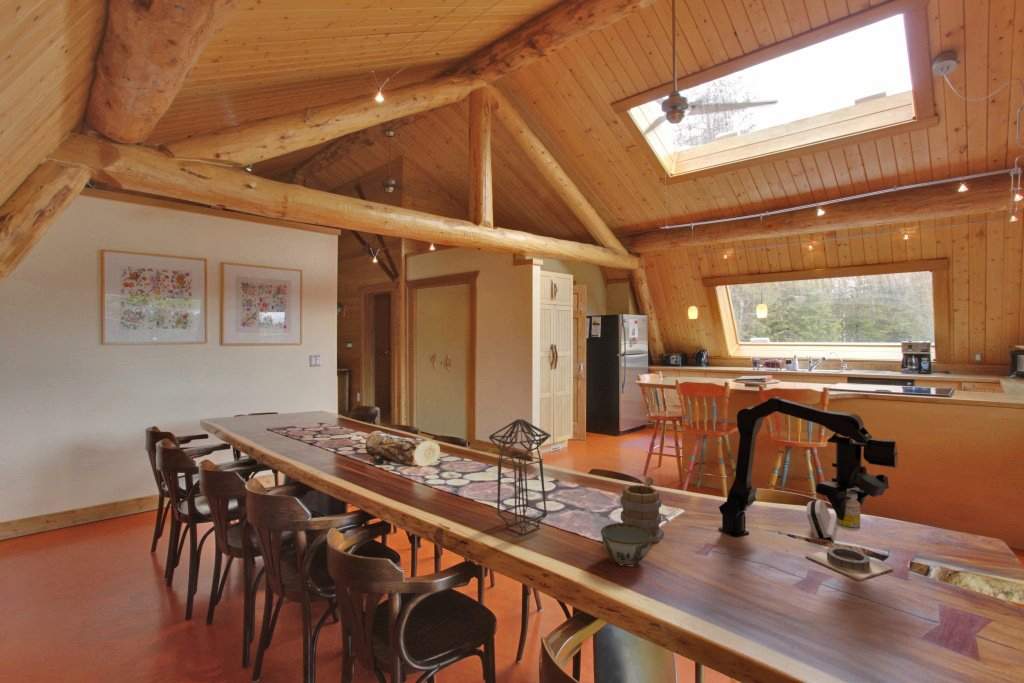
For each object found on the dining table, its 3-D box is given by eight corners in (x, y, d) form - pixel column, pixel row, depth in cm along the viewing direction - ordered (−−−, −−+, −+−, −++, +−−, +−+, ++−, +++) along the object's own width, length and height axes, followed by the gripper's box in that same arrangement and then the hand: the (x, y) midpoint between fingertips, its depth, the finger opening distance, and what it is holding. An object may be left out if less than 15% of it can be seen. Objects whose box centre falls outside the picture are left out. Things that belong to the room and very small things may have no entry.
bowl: (653, 554, 137) (653, 526, 137) (650, 576, 124) (650, 545, 124) (604, 547, 142) (604, 520, 142) (597, 568, 129) (597, 538, 129)
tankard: (655, 546, 142) (655, 495, 142) (614, 537, 149) (614, 488, 149) (672, 524, 159) (672, 478, 159) (634, 516, 166) (634, 472, 166)
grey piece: (834, 542, 145) (821, 508, 147) (816, 543, 148) (804, 510, 150) (838, 524, 158) (826, 494, 160) (822, 526, 161) (810, 496, 163)
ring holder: (858, 580, 122) (858, 571, 122) (805, 557, 135) (805, 548, 135) (892, 570, 128) (892, 560, 128) (838, 548, 141) (838, 540, 141)
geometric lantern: (520, 542, 145) (517, 425, 145) (488, 528, 157) (485, 419, 157) (557, 527, 156) (554, 418, 156) (523, 515, 167) (521, 413, 167)
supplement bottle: (859, 533, 128) (859, 496, 127) (834, 528, 131) (835, 492, 131) (861, 527, 132) (861, 491, 132) (837, 522, 135) (837, 487, 135)
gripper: (857, 472, 120) (857, 535, 120) (903, 464, 127) (902, 523, 128) (814, 461, 130) (813, 519, 130) (858, 454, 138) (858, 509, 138)
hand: (847, 518), depth 131 cm, fingers closed on supplement bottle, 5 cm apart
